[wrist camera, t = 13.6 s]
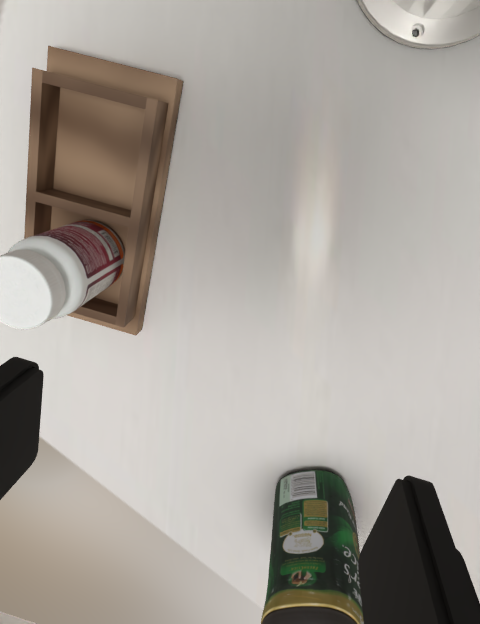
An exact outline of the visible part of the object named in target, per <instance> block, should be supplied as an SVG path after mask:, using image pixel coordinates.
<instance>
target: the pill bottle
mask: <svg viewBox="0 0 480 624" xmlns="http://www.w3.org/2000/svg"><path fill="white" fill-rule="evenodd" d="M124 259H125V252H124V248H123V245H122V243H121V241H120V239H119V238H118V236H117V235H116V234H115V233H114V232H113V231H112V230H111V229H110V228H109V227H107V226H105V225H104V224H102V223H100V222H96V221H92V220H81V221H77V222H74V223H71V224H68V225H65V226H62V227H59V228H56V229H53V230H49V231H47V232H43V233H41V234H38V235H35V236H31V237H28V238H26V239H23V240H21V241H19V242H18V243H16V244H15V245H14V246H12V247H11V249H10V250H9V251H8V253H6V254H4V255H1V256H0V321H1V322H2V323H4V324H6V325H7V326H10V327H12V328H16V329H21V330H28V329H33V328H36V327H38V326H40V325H42V324H44V323H45V322H47V321H49V320H51V319H55V318H60V317H64V316H66V315H68V314H70V313H72V312H74V311H75V310H77V309H78V308H79V307H81V306H82V305H83V304H85V303H86V302H88V301H89V300H90V299H92V298H93V297H95V296H96V295H98V294H99V293H100V292H102V291H103V290H105V289H106V288H108V287H109V286H111V285H112V284H113V283H114V282H115V281H117V280H118V278H119V277H120V276H121V274H122V272H123V266H124Z"/></svg>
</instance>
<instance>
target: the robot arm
mask: <svg viewBox="0 0 480 624" xmlns="http://www.w3.org/2000/svg"><path fill="white" fill-rule="evenodd" d="M358 3H359V5H360V7H361V9H362V10H363V12H364V13H365V15H366V16H367V17H368V19H369V20H370V22H371V23H372V24H373V25H374V26H375V27H376V28H377V29H379V30H380V31H381V32H382V33H383V34H384V35H386V36H388V37H389V38H391V39H393V40H395V41H396V42H398V43H401V44H404V45H408V46H411V47H414V48H427V49H436V48H443V47H450V46H454V45H457V44H460V43H463V42H466V41H468V40H471V39H472V38H474V37H476V36H478V35H480V0H358ZM413 30H418V32H419V35H418V36H417V37H413V35H412V31H413ZM42 388H43V371H41V370H39V366H38V364H37V363H35V362H32V361H28V360H25V359H22V358H18V357H13V358H11V359H9V360H8V361H7V362H5V363H4V364H2V365H1V366H0V500H1V498H2V497H3V496H4V495H5V494H6V493H7V492H8V491H9V490H10V488H11V487H12V486H13V485H14V484H15V483H16V482H17V480H18V479H19V478H20V477H21V476H22V475H23V474H24V473H25V472H26V470H27V469H28V468H29V467H30V466H31V465H32V463H33V462H34V460H35V458H36V456H37V452H38V443H39V429H40V416H41V402H42ZM358 572H359V582H360V592H361V602H362V611H363V621H364V624H480V603H479V600H478V598H477V595H476V592H475V589H474V586H473V584H472V581H471V578H470V575H469V573H468V570H467V567H466V564H465V562H464V559H463V557H462V555H461V553H460V552H459V551H458V550H457V549H456V548H455V545H454V542H453V539H452V536H451V534H450V531H449V528H448V525H447V522H446V519H445V516H444V514H443V511H442V508H441V505H440V502H439V499H438V496H437V494H436V491H435V488H434V486H433V484H432V483H431V482H428V481H425V480H422V479H418V478H415V477H412V476H406V477H405V478H404V479H403V480H401V479H398V480H396V482H395V484H394V486H393V488H392V490H391V492H390V494H389V496H388V498H387V500H386V502H385V504H384V506H383V508H382V510H381V512H380V514H379V516H378V518H377V520H376V522H375V524H374V526H373V528H372V530H371V532H370V534H369V536H368V538H367V540H366V542H365V544H364V546H363V549H362V551H361V553H360V556H359V561H358ZM0 624H36V623H33V622H30V621H27V620H24V619H21V618H18V617H15V616H12V615H9V614H6V613H3V612H0Z"/></svg>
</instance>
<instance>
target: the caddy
mask: <svg viewBox="0 0 480 624" xmlns="http://www.w3.org/2000/svg"><path fill="white" fill-rule="evenodd" d="M182 86H183V81H181V80H179V79H177V78H173V77H169V76H165V75H161V74H157V73H153V72H149V71H145V70H141V69H137V68H133V67H130V66H126V65H122V64H118V63H114V62H110V61H106V60H102V59H98V58H94V57H90V56H86V55H82V54H79V53H75V52H71V51H67V50H63V49H59V48H55V47H51V46H48V59H47V71H43V70H39V69H36V68H32V87H31V108H30V130H29V151H28V173H27V194H26V216H25V237H24V239H26V238H28V237H31V236H35V235H38V234H41V233H43V232H47V231H49V230H53V229H56V228H59V227H62V226H65V225H68V224H71V223H74V222H77V221H81V220H92V221H96V222H100V223H102V224H104V225H105V226H107V227H109V228H110V229H111V230H112V231H113V232H114V233H115V234H116V235H117V236H118V238H119V239H120V241H121V243H122V245H123V248H124V252H125V259H124V266H123V272H122V274H121V276H120V277H119V278H118V280H117V281H115V282H114V283H113V284H112V285H111V286H109V287H108V288H106V289H105V290H103V291H102V292H100V293H99V294H98V295H96V296H95V297H93V298H92V299H90V300H89V301H88V302H86V303H85V304H83V305H82V306H81V307H79V308H78V309H77V310H75V311H74V312H72V313H70V314H68V316H72V317H75V318H78V319H82V320H85V321H89V322H92V323H95V324H99V325H102V326H106V327H109V328H112V329H116V330H119V331H123V332H126V333H129V334H133V335H137V334H138V333H139V332H140V331H141V330H142V326H143V320H144V314H145V308H146V302H147V296H148V290H149V284H150V278H151V272H152V266H153V260H154V254H155V248H156V242H157V236H158V230H159V224H160V218H161V212H162V206H163V200H164V194H165V188H166V182H167V176H168V170H169V164H170V158H171V152H172V146H173V140H174V134H175V128H176V122H177V116H178V110H179V104H180V98H181V92H182Z"/></svg>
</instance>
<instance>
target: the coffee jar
mask: <svg viewBox="0 0 480 624" xmlns="http://www.w3.org/2000/svg"><path fill="white" fill-rule="evenodd" d="M359 556H360V551H359V543H358V534H357V527H356V520H355V513H354V508H353V504H352V500H351V497H350V494H349V492H348V489H347V487H346V485H345V483H344V482H343V480H342V479H341V478H340V477H339V476H338V475H335V474H334V473H331V472H328V471H323V470H304V471H298V472H295V473H292V474H289V475H287V476H285V477H283V478H282V479H281V480H280V481H279V483H278V484H277V487H276V493H275V502H274V516H273V529H272V542H271V554H270V565H269V578H268V587H267V595H266V601H265V606H264V610H263V615H262V620H261V624H364V621H363V611H362V602H361V592H360V582H359V572H358V561H359Z"/></svg>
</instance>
